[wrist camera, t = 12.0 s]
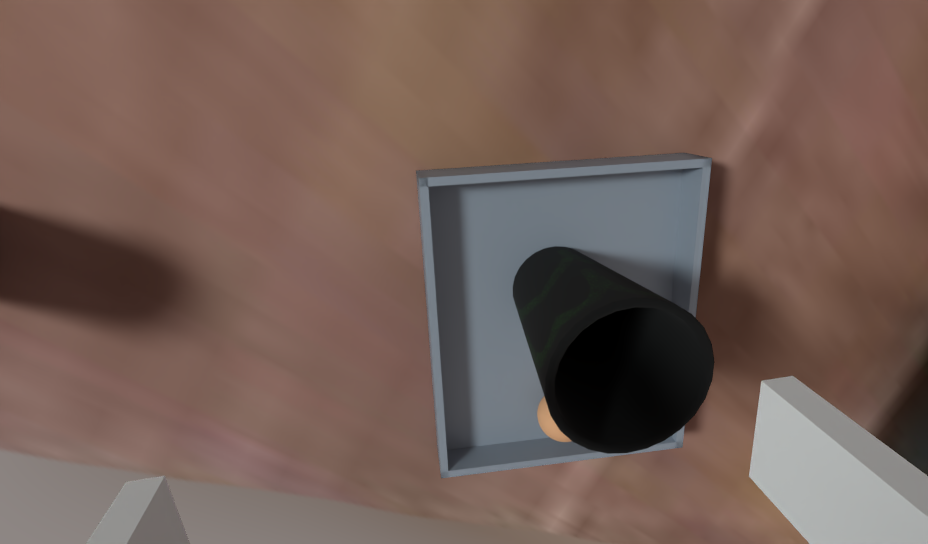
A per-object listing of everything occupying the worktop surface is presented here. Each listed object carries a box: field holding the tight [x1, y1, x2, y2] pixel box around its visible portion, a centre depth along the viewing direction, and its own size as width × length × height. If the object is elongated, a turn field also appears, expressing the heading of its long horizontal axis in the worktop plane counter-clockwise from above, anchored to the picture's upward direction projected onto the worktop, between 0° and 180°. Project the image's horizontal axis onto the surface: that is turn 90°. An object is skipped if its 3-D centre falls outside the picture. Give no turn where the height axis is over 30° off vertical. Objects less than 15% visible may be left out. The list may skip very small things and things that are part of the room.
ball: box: [537, 397, 571, 442], centre depth 36 cm, size 4×4×4 cm
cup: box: [513, 246, 714, 454], centre depth 29 cm, size 8×8×12 cm
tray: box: [416, 153, 712, 478], centre depth 34 cm, size 20×17×3 cm
